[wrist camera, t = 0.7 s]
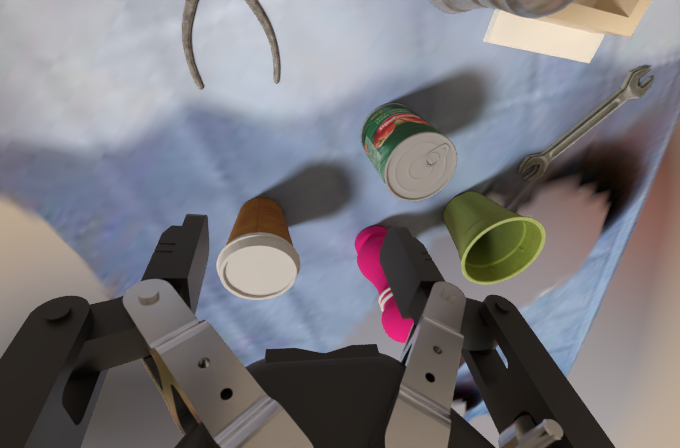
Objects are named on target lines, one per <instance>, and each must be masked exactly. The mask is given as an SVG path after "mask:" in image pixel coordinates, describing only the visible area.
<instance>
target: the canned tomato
mask: <svg viewBox="0 0 680 448" xmlns="http://www.w3.org/2000/svg"><path fill="white" fill-rule="evenodd" d="M360 138H361V144H362V147H363V149H364V151H365V152H366V154H367V155H368V157H369V159H370V160H371V162H372V163H373V165H374V167H375V168H376V170H377V171H378V173H379V175H380V176H381V178H382V179H383V181H384V183H385V184H386V186H387V188H388V190H389V191H390V192H391V193H392V194H393V195H394V196H395V197H397V198H399V199H401V200H404V201H421V200H424V199H427V198H430V197H431V196H433V195H435V194H437V193H438V192H439V191H441V190H442V189H443V188H444V187H445V186H446V185H447V183H448V182H449V181H450V180H451V178H452V176H453V174H454V172H455V169H456V165H457V153H456V149H455V147H454V145H453V143H452V142H451V141H450V140H449V139H448V138H447V137H445V136H444V135H442V134H441V133H440V132H439V131H437V130H436V129H435V128H434V127H432V126H431V125H430V124H428V123H427V122H426V121H425V120H423V119H422V118H421V117H419V116H418V115H417V114H416V113H414V112H413V111H412V110H411V109H410V108H408V107H407V106H405V105H402V104H399V103H389V104H385V105H382V106H380V107H378V108H376V109H375V110H374V111H372V112H371V113H370V114H369V116H368V117H367V118H366V120H365V121H364V123H363V126H362V129H361V135H360Z"/></svg>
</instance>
